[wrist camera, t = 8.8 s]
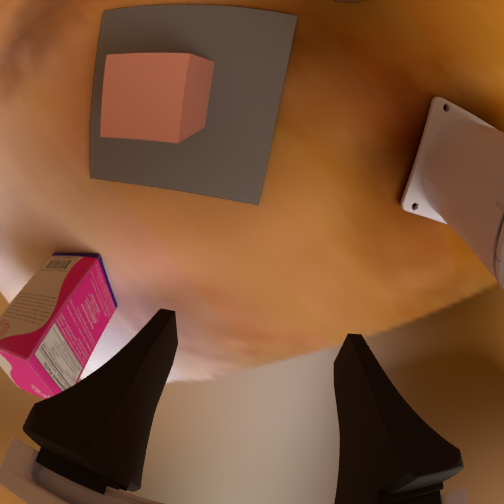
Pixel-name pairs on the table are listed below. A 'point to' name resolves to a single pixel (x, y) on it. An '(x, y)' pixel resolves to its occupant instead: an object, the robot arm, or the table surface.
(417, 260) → the table surface
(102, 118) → the red block
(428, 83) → the table surface
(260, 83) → the charcoal mat
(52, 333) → the supplement box
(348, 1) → the grey domed cylinder
